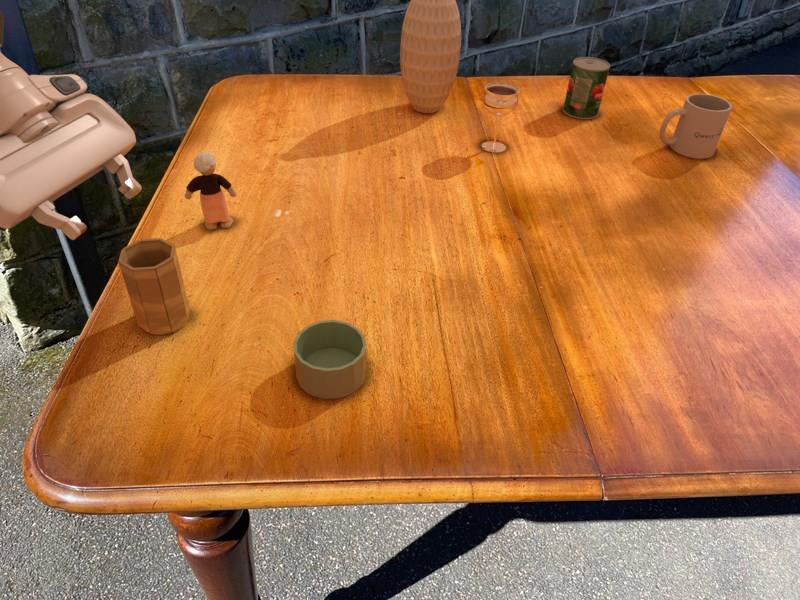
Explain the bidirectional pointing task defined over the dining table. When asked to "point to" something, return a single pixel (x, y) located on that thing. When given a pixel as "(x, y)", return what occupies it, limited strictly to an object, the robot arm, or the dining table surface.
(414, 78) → the vase
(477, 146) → the dining table surface
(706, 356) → the dining table surface
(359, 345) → the gray bowl
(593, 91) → the canned tomato
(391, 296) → the dining table surface
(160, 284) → the octagonal wooden container
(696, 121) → the mug
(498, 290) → the dining table surface
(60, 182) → the robot arm
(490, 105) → the wineglass
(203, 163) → the grandmother figurine
